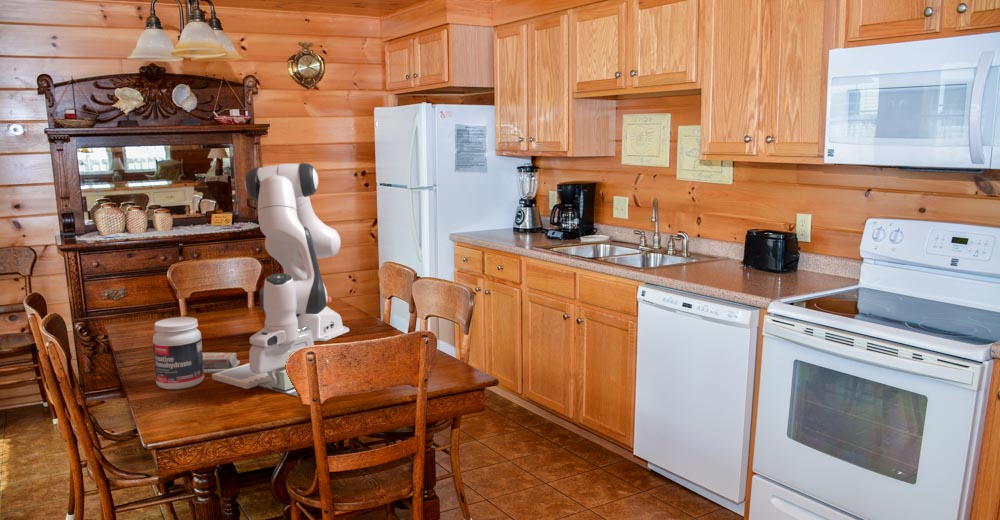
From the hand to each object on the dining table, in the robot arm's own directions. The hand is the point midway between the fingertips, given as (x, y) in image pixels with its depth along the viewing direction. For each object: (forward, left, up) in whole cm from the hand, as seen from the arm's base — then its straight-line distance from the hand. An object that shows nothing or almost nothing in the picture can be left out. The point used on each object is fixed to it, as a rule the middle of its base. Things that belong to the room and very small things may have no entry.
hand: (284, 380), depth 214 cm
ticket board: (0, -8, -2) cm, 8 cm away
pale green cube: (0, 0, -2) cm, 2 cm away
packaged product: (+1, -36, -3) cm, 36 cm away
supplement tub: (+14, -28, -2) cm, 32 cm away
